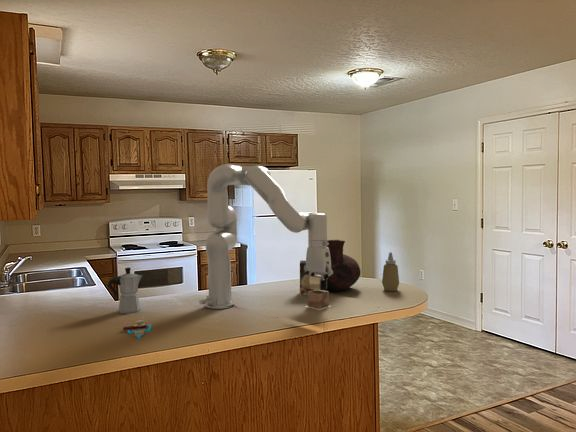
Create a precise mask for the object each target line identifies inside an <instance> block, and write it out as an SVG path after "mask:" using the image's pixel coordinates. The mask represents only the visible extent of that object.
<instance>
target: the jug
mask: <svg viewBox="0 0 576 432" xmlns="http://www.w3.org/2000/svg"><path fill="white" fill-rule="evenodd" d="M327 242H328V243H329V245H327V247H328V248H329V251H330V257H331V269H332V271H333V274H332V275H330V277H329V278H328V279H327V289H325V290H324V291H329V292H341V291H345V290H348V289H350V288H351V287H353V286H354V285H355V284H356V283H357V282H358V280H359V279H360V277H361V268H360V265H359V263H358V261H357V260H356V259H355V258H353V257H351V256H349V255H347V254H344V245H345V243H346V241H345V240H342V239H341V240H340V239H329V240H328V239H327ZM327 273H328V272H327ZM320 275H321V274H320Z"/></svg>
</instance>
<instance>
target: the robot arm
mask: <svg viewBox="0 0 576 432" xmlns="http://www.w3.org/2000/svg"><path fill="white" fill-rule="evenodd" d="M206 184H207V186H206V187H207V189H206V190H207V221H208V224H209V225H210V227H212V228H215V231H213V232H212V233H210V234H209V235H208V236H207V238H206V239H205V251H206V256H207V280H208V281H207V282H208V295H206V298H204V299H200V300H199V305H201V306H202V305H204V304H205V307H206V308H207V309H212V310H223V309H229V308H232V307H235V304H236V301H235V300H233V299H232V269H231V267H232V266H231V265H232V264H231V258H230V257H231V256H230V251H232V250H233V249H234V248H235V246H236V245H237V242H238V241H237V240H238V231H237V230H238V228H237V227H238V226H237V225H238V224H237V221H238V219H237V214H236V210H235V209H234V208H233V207H232V206H231V205H229V195H228V194H229V193H228V189H227V188H228V186H249V187H250V186H251V188H252V189H253V190H254V191H255V192H256V193H257V194H258V195H259V197H261V199H262V200H264V202H265V203H266V204H267V205H268V207H269V209H270V210H271V211H272V213H273V214H274V216H275V217H276V218H277V219H278V220H279V222H281V224H282V225H283V226H284V227H285V229H287V230H288V231H290V232H292V233H296V234H297V233H298V234H299V233H301V232H303V231H307V236H308V238H307V239H308V241H307V243H308V245H307V249H306V256H305V261H306V265H305V267H304V270H305V272H306V273H307V275H308V278H309V277H310V276H314V275H315V273H316V272H318V273H320V274H321V279H322V280H321V290H324V291H326V290H325V289H327V279H328V278H329V277H330V275H332V274H333V271H332V269H331V257H330V251H329V248H328V247H327V245H329V243H328V242H327V240H328V219H327V218H328V217H327V214H326V213H322V212H311V213H308V212H300V211H299V212H298V211H297V210H296V209H295V208H294V207H293V206H292V205H291V204H290V202H289V200H288V199H287V198H286V194H285V191H284V189H283V188H282V187H281V186H280V185H279V184H278V183H277V182H276V181H275V179H274V178H273V177H271V172H270V170H269V169H268V168H267V167H265V166H262V165H252V166H251V165H239V164H238V165H237V164H230V163H227V164H226V163H225V164H221V165H219V166H217V167H215V168H214V169H213V170H212V171H210V174H209V176H208V178H207V183H206ZM327 272H328V273H327Z"/></svg>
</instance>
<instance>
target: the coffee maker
mask: <svg viewBox="0 0 576 432" xmlns="http://www.w3.org/2000/svg"><path fill="white" fill-rule="evenodd" d="M124 271H125V273H123V274H121V275H118V276H114V277H113V278H111V279H109V281H108V283H107V286H108V288H109V289H110V290H111V292H112V293H113V295H114V296H115V297H118V296H119V293H118V292H117V290H116V289H115V288H114V287H113V285H118V286H119V287H118V288H119V292H120V297H119V305H118V311H117V312H118V313H119V314H123V315H124V314H125V315H126V314H127V315H129V314H135V313H138V312H140V311H141V304H140V300H139V295H138V293H137V292H138V291H139V289H138V288H139V283H140V281H141V279H142V277H143V275H141V274H136V273H131V267H125V268H124Z"/></svg>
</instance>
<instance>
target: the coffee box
mask: <svg viewBox="0 0 576 432" xmlns="http://www.w3.org/2000/svg"><path fill="white" fill-rule="evenodd" d="M305 265H306V260H300V261H299V296H308V292H309V291H313V289H310V283H309V278H308V275H307V273H306V272H305V270H304V267H305ZM315 275H320V273H318V272H316V273H315Z"/></svg>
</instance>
